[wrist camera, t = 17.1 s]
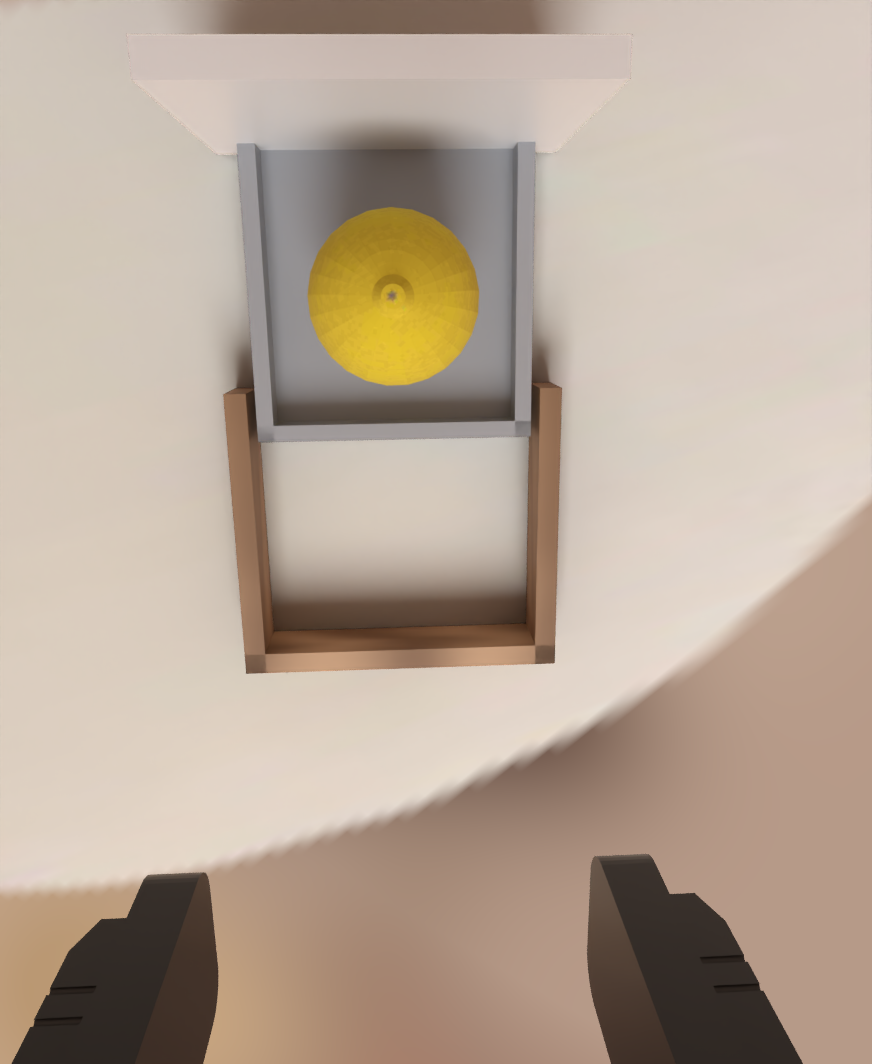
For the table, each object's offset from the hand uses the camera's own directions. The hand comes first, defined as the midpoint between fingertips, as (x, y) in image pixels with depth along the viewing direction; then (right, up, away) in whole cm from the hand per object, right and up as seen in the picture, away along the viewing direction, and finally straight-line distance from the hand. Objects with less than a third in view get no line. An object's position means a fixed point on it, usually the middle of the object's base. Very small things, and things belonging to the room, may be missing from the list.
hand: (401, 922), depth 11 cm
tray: (-1, +14, +20) cm, 25 cm away
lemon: (-1, +14, +20) cm, 24 cm away
